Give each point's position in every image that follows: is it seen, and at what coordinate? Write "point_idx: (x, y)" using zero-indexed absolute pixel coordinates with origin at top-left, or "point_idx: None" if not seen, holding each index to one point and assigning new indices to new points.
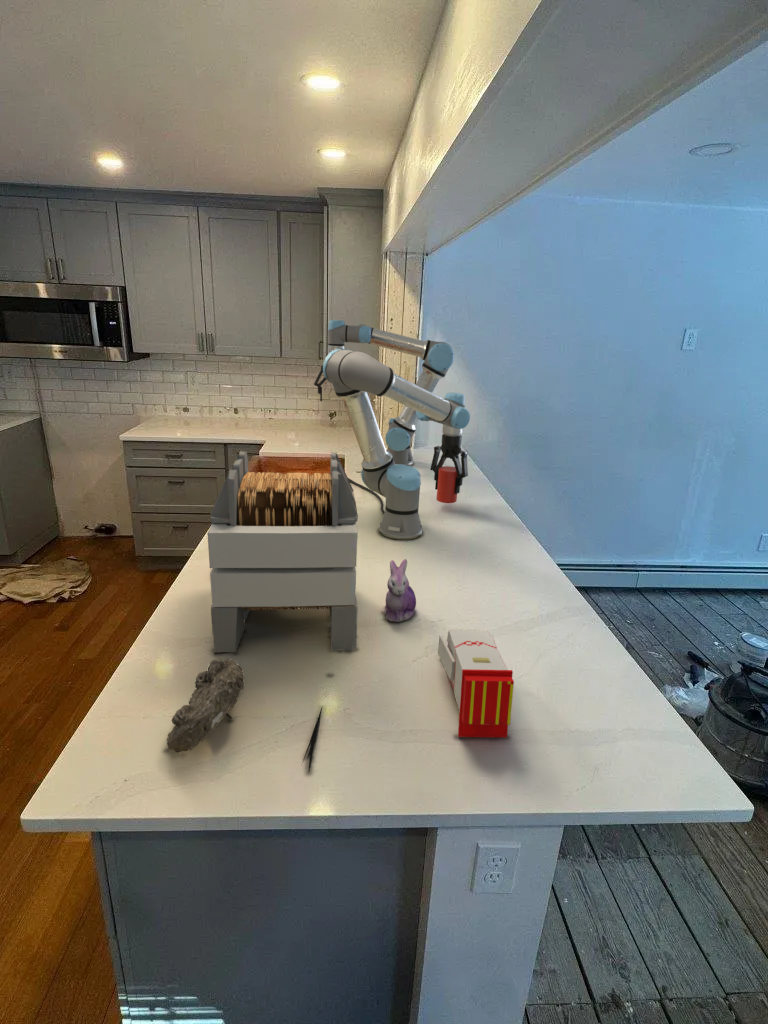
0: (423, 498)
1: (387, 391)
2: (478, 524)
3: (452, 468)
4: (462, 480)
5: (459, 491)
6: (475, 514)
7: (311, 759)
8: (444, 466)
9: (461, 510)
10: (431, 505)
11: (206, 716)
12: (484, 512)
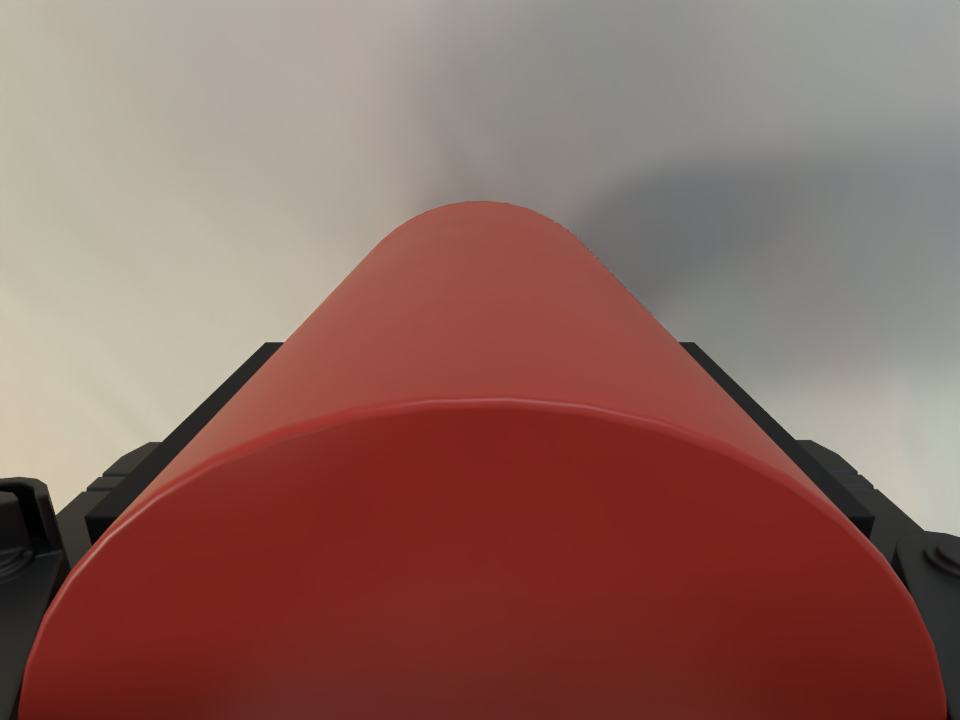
0: (36, 125)
1: None
2: (936, 465)
3: (562, 688)
4: (898, 510)
5: (702, 354)
6: (833, 221)
7: None
8: (65, 641)
9: (641, 208)
10: (283, 295)
11: None
12: (918, 69)
